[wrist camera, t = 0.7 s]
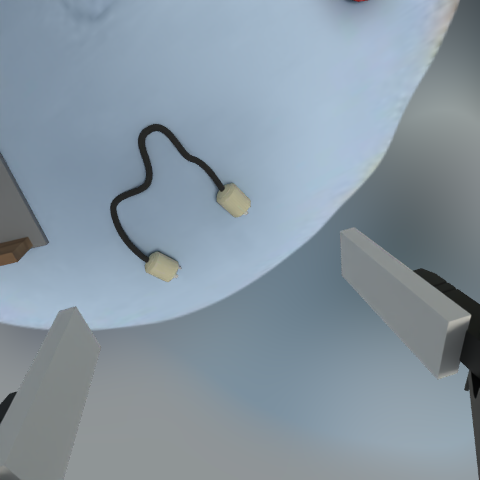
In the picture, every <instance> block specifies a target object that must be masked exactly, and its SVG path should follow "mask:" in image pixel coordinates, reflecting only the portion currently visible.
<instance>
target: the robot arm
mask: <svg viewBox="0 0 480 480" xmlns="http://www.w3.org/2000/svg"><path fill="white" fill-rule="evenodd" d="M340 241H341V265H342V276H343V277H344V278H345V279H346V280H347V282H348V283H349V284H350V285H351V286H352V287H353V288H354V289H355V290H356V291H357V292H358V294H359V295H360V296H361V297H362V298H363V299H364V300H365V301H366V302H367V303H368V304H369V306H370V307H371V308H372V309H373V310H374V311H375V312H376V313H377V314H378V315H379V316H380V317H381V319H382V320H383V321H384V322H385V323H386V324H387V325H388V326H389V327H390V328H391V329H392V330H393V331H394V333H395V334H396V335H397V336H398V337H399V338H400V339H401V340H402V341H403V343H404V344H405V345H406V346H407V347H408V348H409V349H410V350H411V351H412V352H413V353H414V354H415V355H416V357H417V358H418V359H419V360H420V361H421V362H422V363H423V364H424V365H425V366H426V368H427V369H428V370H429V371H430V372H431V373H432V374H433V375H434V376H435V377H436V378H437V379H441V378H443V377H447V376H450V375H453V374H455V373H457V372H458V368H459V364H460V361H461V362H462V363H463V364H464V365H465V366H466V367H467V368H468V369H469V374H468V377H467V381H466V384H465V389H464V390H466V391H468V390H470V398H471V409H472V417H473V427H474V436H475V446H476V455H477V465H478V475H479V480H480V304H478V303H477V302H476V301H474V300H473V299H471V298H470V297H468V296H467V295H465V294H464V293H463V292H461V291H460V290H458V289H456V288H455V287H454V286H453V285H451V284H449V283H447V282H446V281H445V280H444V279H442V278H441V277H440V276H438V275H437V274H435V273H432V272H430V271H427V270H424V269H417V270H414V271H412V270H411V269H409V268H408V267H407V266H405V265H404V264H403V263H401V262H400V261H399V260H397V259H396V258H395V257H393V256H392V255H390V254H389V253H388V252H387V251H385V250H384V249H383V248H381V247H380V246H379V245H377V244H376V243H375V242H373V241H372V240H371V239H369V238H368V237H367V236H365V235H364V234H363V233H361V232H360V231H359V230H357V229H356V228H350V229H347V230H343V231H340ZM100 349H101V346H100V345H99V343H98V341H97V340H96V338H95V336H94V335H93V333H92V332H91V330H90V328H89V327H88V325H87V323H86V322H85V320H84V319H83V317H82V315H81V314H80V312H79V310H78V309H77V307H76V306H75V307H72V308H68V309H65V310H61V311H59V312H58V314H57V316H56V318H55V320H54V322H53V324H52V326H51V328H50V330H49V332H48V334H47V336H46V338H45V339H44V341H43V343H42V345H41V347H40V349H39V351H38V353H37V355H36V357H35V359H34V361H33V363H32V364H31V366H30V369H29V370H28V372H27V374H26V376H25V378H24V380H23V382H22V384H21V386H20V388H19V389H18V391H17V392H14V393H11V394H9V395H8V396H7V397H6V398H5V400H4V401H3V402H2V403H1V404H0V480H64V476H65V472H66V469H67V466H68V462H69V459H70V455H71V451H72V448H73V445H74V441H75V437H76V434H77V430H78V426H79V423H80V420H81V416H82V412H83V409H84V406H85V402H86V398H87V395H88V391H89V388H90V384H91V381H92V377H93V374H94V370H95V367H96V363H97V360H98V356H99V352H100Z"/></svg>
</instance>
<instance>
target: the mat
mask: <svg viewBox="0 0 480 480" xmlns="http://www.w3.org/2000/svg"><path fill="white" fill-rule="evenodd" d="M25 237H29V239H30V241H31V243H32V244H33V246H32V247H31V248H35V247H39V246H43V245H47V244H48V243H49V242H48V240H47V238H46V236H45V234H44V232H43V231H42V229H41V227H40V225H39V223H38V221H37V219H36V218H35V216H34V214H33V212H32V210H31V208H30V206H29V205H28V203H27V201H26V199H25V197H24V195H23V194H22V192H21V190H20V188H19V186H18V184H17V182H16V181H15V179H14V177H13V175H12V173H11V171H10V169H9V168H8V166H7V164H6V162H5V160H4V158H3V156H2V155H1V153H0V243H3V242H8V241H12V240H16V239H21V238H25ZM31 248H30V249H31Z"/></svg>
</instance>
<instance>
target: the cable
mask: <svg viewBox="0 0 480 480" xmlns="http://www.w3.org/2000/svg"><path fill="white" fill-rule="evenodd" d="M153 131H160V132H162V133H164V134H165V135H166V136H167V137H168V138H169V139H170V140H171V142H172V143H173V144H174V146H175V147H176V148H177V150H178V151H179V152H180V153H181V155H182V156H183V157H184V158H185V159H187V160H188V161H190V162H193V163H196V164H197V165H199V166H200V167H201V168H202V169H204V170H205V172H206V173H207V174H208V175H209V176H210V177H211V179H212V180H213V181H214V183H215V184H216V186H217V187H218V189H219V192H218V194H217V202H218V203H219V204H220V205H221V206H222V207H223V208H224V209H226V210H227V211H228V212H229V213H230V214H231V215H232V216H233V217H240V216H241V215H243V214H244V215H247V214H248V212H247V210H248V208H249V207H251V206H250V204H251V201H250V199H249V198H248V197H247V196H246V195H245V194H244V193H243V192H242V191H241V190H240V189H239V188H238V187H237V186H236V185H235V184H234V183H231V184H227V185H225V186H223V184H222V183H221V181H220V180H219V179H218V177H217V176H216V174H215V173H214V172H213V171H212V169H211V168H210V167H209V166H208V165H207V164H206V163H205V162H203V161H202V160H200V159H199V158H197V157H194V156H192V155H190V154H189V153H188V152H187V151H186V150H185V149H184V147H183V146H182V145H181V143H180V142H179V141H178V139H177V138H176V137H175V136H174V134H173V133H172V132H171V131H170V130H169V129H167V128H166V127H164V126H162V125H159V124H153V125H149V126H148V127H146V128H145V129H143V130H142V132H141V133H140V135H139V138H138V144H139V149H140V153H141V156H142V159H143V162H144V165H145V169H146V180H145V182H144V184H142V185H141V186H139V187H137V188H135V189H132V190H129V191H127V192H124V193H122V194H120V195H118V196H117V197H116V198H115V199H114V200H113V201H112V203H111V206H110V211H111V217H112V220H113V223H114V226H115V228H116V230H117V232H118V234H119V236H120V237H121V239H122V240H123V241H124V243H125V244H126V245H127V246H128V248H129V249H130V250H131V251H132V252H133V253H134V254H136V255H137V256H138V257H139V258H140V259H142V260H143V261H145V262H146V263H145V271H146V273H149V274H151V275H153V276H155V277H157V278H159V279H161V280H164V281H166V282H169V281H171V280H172V279H173V278H177V277H178V275H177V274H176V272H177V270H178V269H181V266H179V264H178V262H177V261H175V260H173V259H171V258H169V257H167V256H165V255H164V254H162V253H160V252H158V251H157V252H155V253H153V254H151V255H150V256H149V257H147V256H146V255H144V254H143V253H142V252H141V251H140V250H138V249H137V247H136V246H135V245H134V244H133V243H132V242H131V241H130V240H129V238H128V237H127V235H126V234H125V232H124V230H123V229H122V227H121V224H120V222H119V219H118V215H117V211H116V207H117V205H118V203H119V202H121V201H122V200H124V199H126V198H128V197H131V196H134V195H136V194H139V193H141V192H143V191H145V190H146V189H147V188H148V187H149V186H150V185H151V182H152V174H153V173H152V167H151V163H150V159H149V156H148V154H147V151H146V147H145V138H146V137H147V135H148V134H150V133H151V132H153Z"/></svg>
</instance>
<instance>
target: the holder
mask: <svg viewBox="0 0 480 480" xmlns="http://www.w3.org/2000/svg"><path fill="white" fill-rule="evenodd" d="M32 246H33V244H32V243H31V241H30V239H29V237H25V238H21V239H16V240H12V241H8V242H3V243H0V266H2V265H6V264H11V263H15V262H18V261H19V260H20V259H21V258H22V257H23V256H24V255H25V254H26V252H27V251H28V250H29V249H30V248H31V247H32Z"/></svg>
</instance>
